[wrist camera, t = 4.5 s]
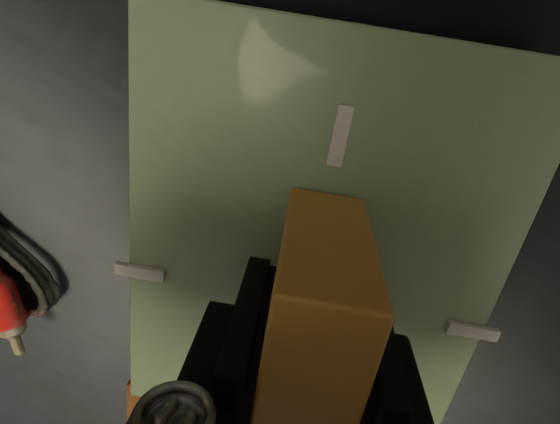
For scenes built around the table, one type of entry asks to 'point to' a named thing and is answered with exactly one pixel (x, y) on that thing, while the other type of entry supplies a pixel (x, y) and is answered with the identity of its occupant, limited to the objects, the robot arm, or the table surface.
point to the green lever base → (328, 167)
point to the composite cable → (22, 290)
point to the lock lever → (323, 316)
